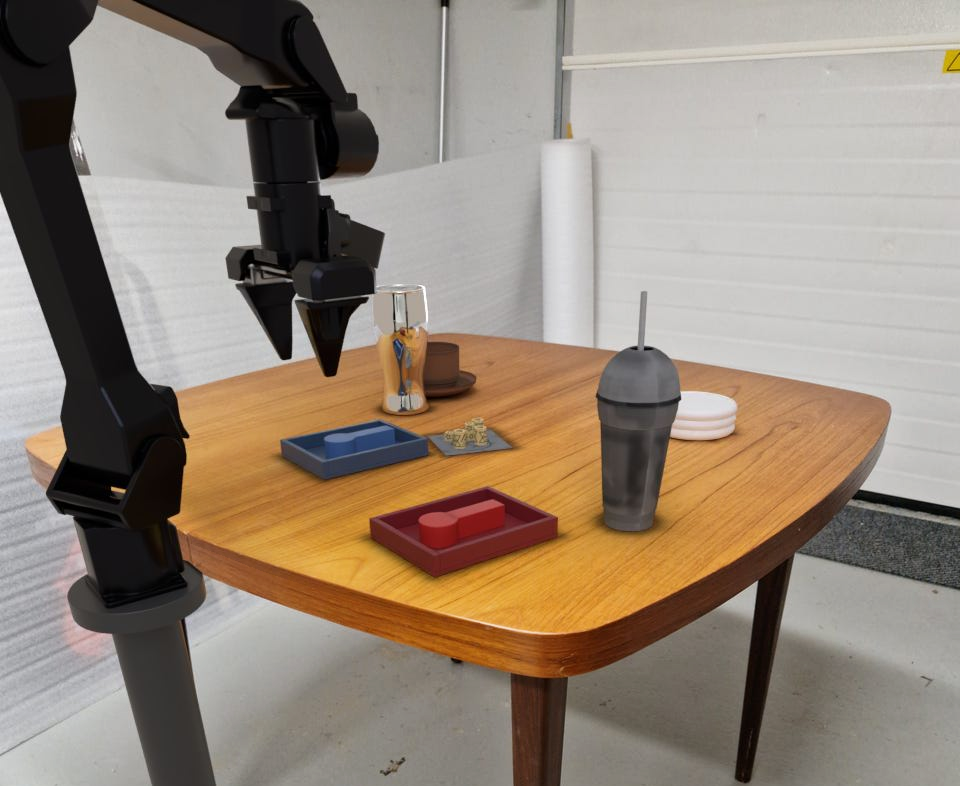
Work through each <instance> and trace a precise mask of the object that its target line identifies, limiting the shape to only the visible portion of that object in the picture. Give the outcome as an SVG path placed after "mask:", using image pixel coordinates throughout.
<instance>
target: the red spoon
mask: <svg viewBox="0 0 960 786" xmlns="http://www.w3.org/2000/svg"><path fill="white" fill-rule="evenodd" d="M504 525H505V505H504V504H502V503H500V502H497V501H495V500H493V499H492V500H488V501H485V502H481V503H478V504H474V505H471V506H467V507H464V508H460V509H457V510H453V511H449V512H446V513H445V512H434V513H428V514H425V515H423V516H421V517H420V518H419V541H420V543H421V544H423V545H424V546H426V547H430V548H446V547H450V546H453V545H455V544H456V543H457V542H458V539H462V538H465V537H468V536H471V535H475V534H478V533H481V532H485V531H488V530H491V529H494V528H498V527H501V526H504Z"/></svg>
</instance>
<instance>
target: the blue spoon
mask: <svg viewBox="0 0 960 786" xmlns="http://www.w3.org/2000/svg"><path fill="white" fill-rule="evenodd" d="M324 444H325V454H326V457H327V458H328V459H332V458H336V457H341V456H345V455H350V454H354V453H359V452H363V451H368V450H372V449H376V448H381V447H385V446H390V445H394V444H395V431H394V428H391V427H389V426H387V425H385V426H381V427H376V428H371V429H366V430H362V431H357V432H352V433H347V434H345V433H339V434H332V435H328V436H326V437H325V438H324Z"/></svg>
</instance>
